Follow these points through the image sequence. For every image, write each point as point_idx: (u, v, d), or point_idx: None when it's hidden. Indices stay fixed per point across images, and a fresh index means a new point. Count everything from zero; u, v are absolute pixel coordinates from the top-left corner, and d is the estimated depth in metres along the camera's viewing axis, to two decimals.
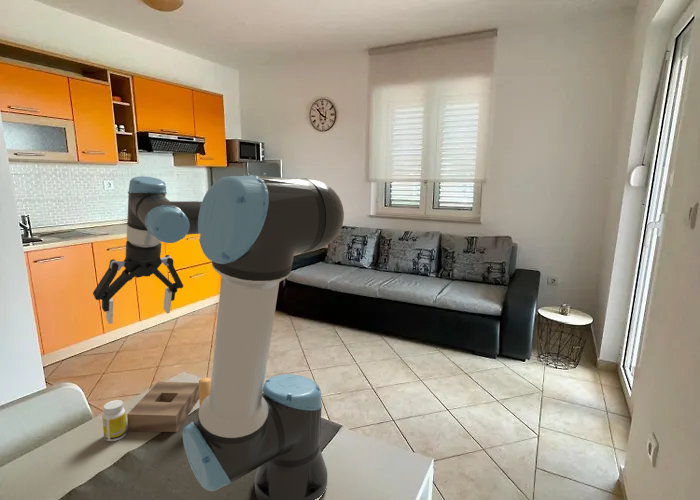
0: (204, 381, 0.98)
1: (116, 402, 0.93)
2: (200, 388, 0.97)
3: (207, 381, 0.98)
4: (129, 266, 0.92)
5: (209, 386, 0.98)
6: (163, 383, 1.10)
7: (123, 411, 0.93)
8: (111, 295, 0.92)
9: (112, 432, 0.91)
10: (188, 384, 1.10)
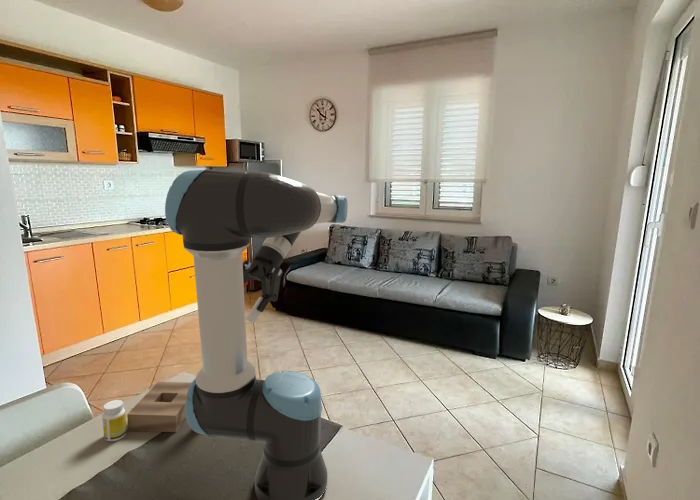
0: None
1: (116, 402, 0.93)
2: None
3: None
4: (252, 264, 1.10)
5: None
6: (163, 383, 1.10)
7: (123, 411, 0.93)
8: None
9: (112, 432, 0.91)
10: (188, 384, 1.10)
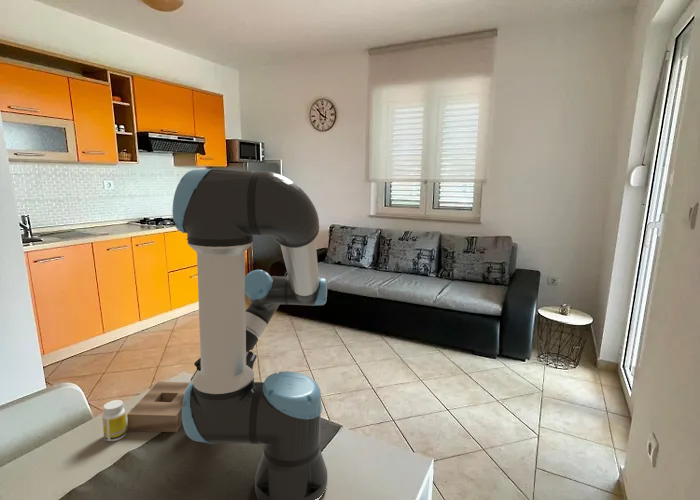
0: None
1: (116, 402, 0.93)
2: None
3: None
4: None
5: None
6: (163, 383, 1.10)
7: (123, 411, 0.93)
8: None
9: (112, 432, 0.92)
10: None
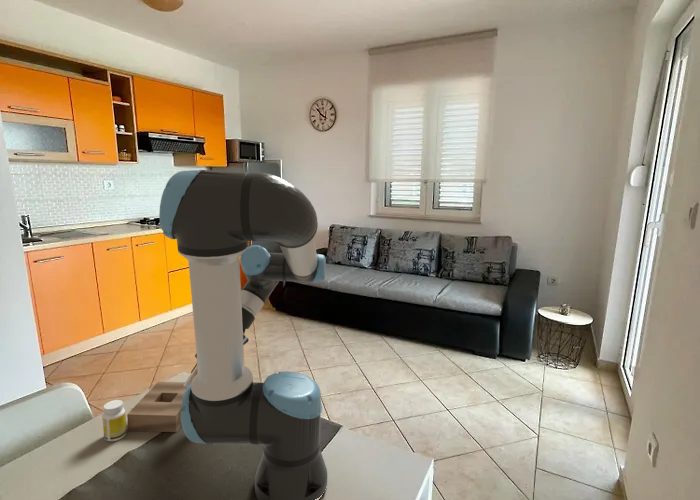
0: None
1: (116, 402, 0.93)
2: None
3: None
4: None
5: None
6: (163, 383, 1.10)
7: (123, 411, 0.93)
8: None
9: (112, 432, 0.91)
10: None
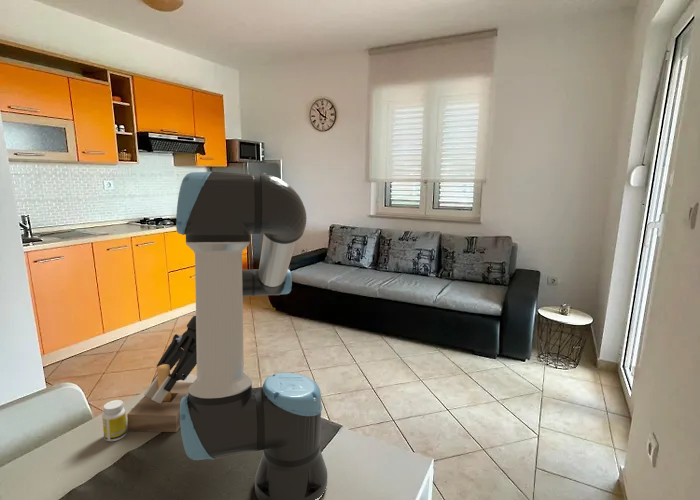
0: (162, 367, 1.01)
1: (116, 402, 0.93)
2: (158, 374, 1.01)
3: (165, 367, 1.01)
4: (183, 335, 1.09)
5: (167, 372, 1.01)
6: None
7: (123, 411, 0.93)
8: None
9: (112, 432, 0.92)
10: (188, 384, 1.10)
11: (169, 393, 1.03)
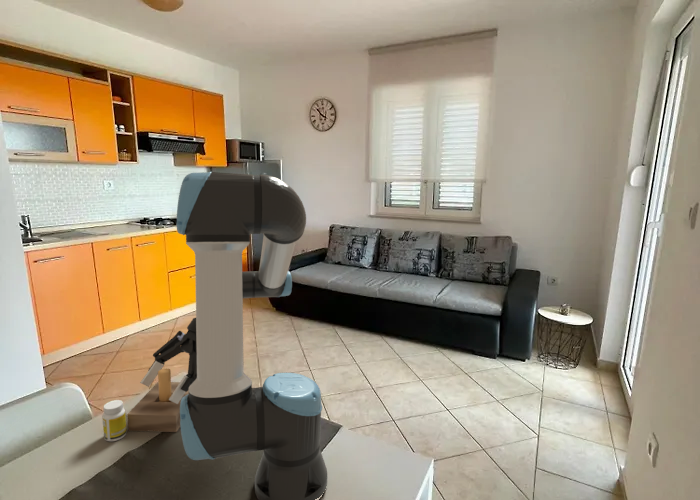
0: (163, 372, 1.02)
1: (116, 402, 0.93)
2: (159, 378, 1.01)
3: (166, 372, 1.02)
4: (184, 336, 1.09)
5: (168, 376, 1.02)
6: None
7: (123, 411, 0.93)
8: (160, 356, 1.08)
9: (112, 432, 0.92)
10: None
11: (169, 397, 1.03)
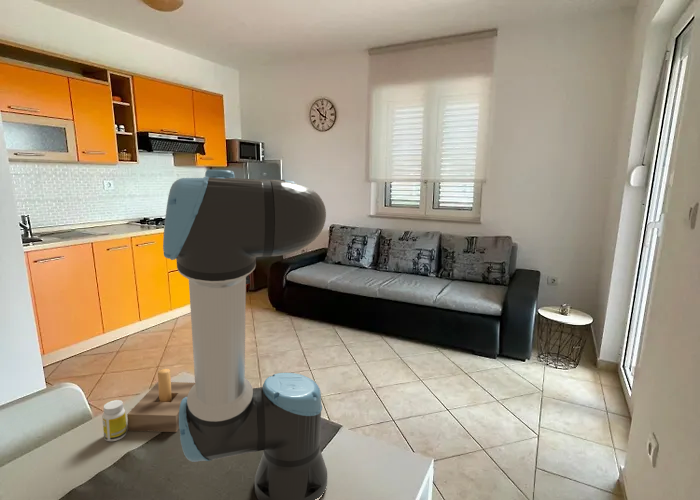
0: (163, 372, 1.02)
1: (116, 402, 0.93)
2: (159, 379, 1.01)
3: (166, 372, 1.02)
4: None
5: (168, 377, 1.02)
6: None
7: (123, 411, 0.93)
8: None
9: (112, 432, 0.92)
10: (188, 384, 1.10)
11: (169, 398, 1.03)
